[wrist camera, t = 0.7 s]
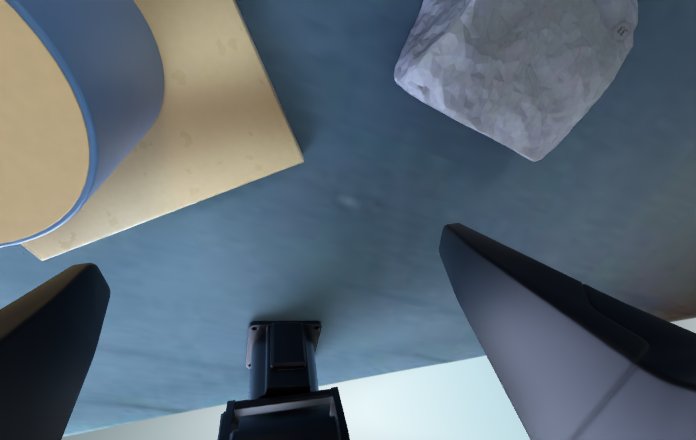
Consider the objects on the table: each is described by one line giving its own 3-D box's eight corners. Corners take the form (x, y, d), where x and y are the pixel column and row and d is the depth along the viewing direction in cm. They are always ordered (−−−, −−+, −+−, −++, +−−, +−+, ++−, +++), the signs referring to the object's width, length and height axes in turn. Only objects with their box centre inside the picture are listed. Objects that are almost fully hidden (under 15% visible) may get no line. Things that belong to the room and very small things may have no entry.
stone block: (456, -106, 17) (375, 90, 19) (530, -163, 12) (414, 97, 15) (589, 14, 22) (509, 156, 24) (674, 2, 17) (566, 175, 20)
